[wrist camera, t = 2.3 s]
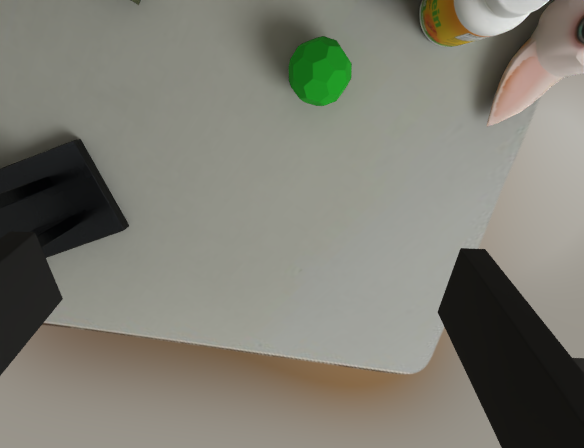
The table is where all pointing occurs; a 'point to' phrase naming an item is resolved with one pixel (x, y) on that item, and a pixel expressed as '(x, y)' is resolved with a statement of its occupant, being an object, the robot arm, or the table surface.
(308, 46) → the polyhedron
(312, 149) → the table surface
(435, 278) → the table surface
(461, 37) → the supplement bottle
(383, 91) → the table surface
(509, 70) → the toy dog
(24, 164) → the switch bracket
